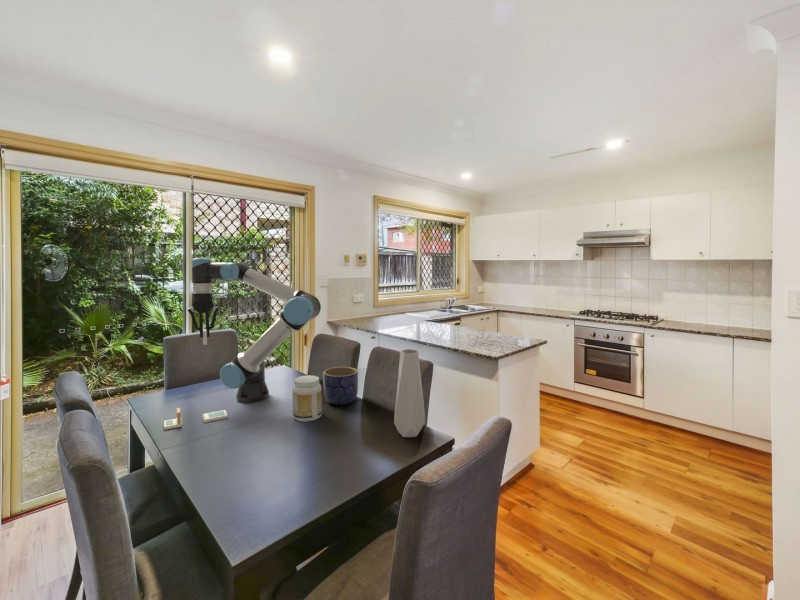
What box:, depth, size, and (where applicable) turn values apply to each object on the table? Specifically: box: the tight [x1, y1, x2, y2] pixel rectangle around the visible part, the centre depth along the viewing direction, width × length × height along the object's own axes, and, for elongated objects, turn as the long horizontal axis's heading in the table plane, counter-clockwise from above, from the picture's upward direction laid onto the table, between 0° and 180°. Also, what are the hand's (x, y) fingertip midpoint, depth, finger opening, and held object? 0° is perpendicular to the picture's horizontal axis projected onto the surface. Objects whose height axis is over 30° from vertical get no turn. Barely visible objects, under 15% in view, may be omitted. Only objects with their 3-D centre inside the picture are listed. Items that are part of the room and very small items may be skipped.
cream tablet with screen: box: [202, 409, 228, 423], centre depth 161 cm, size 9×7×1 cm
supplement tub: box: [291, 375, 323, 423], centre depth 162 cm, size 12×12×17 cm
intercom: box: [163, 407, 183, 431], centre depth 153 cm, size 6×7×6 cm
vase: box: [393, 348, 426, 438], centre depth 145 cm, size 12×12×33 cm
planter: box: [322, 366, 359, 406], centre depth 180 cm, size 16×17×15 cm
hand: (205, 344), depth 170 cm, fingers closed
